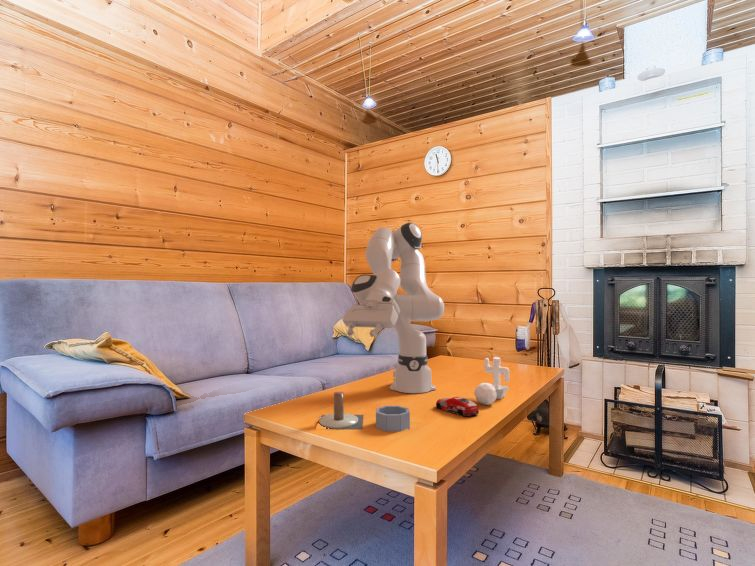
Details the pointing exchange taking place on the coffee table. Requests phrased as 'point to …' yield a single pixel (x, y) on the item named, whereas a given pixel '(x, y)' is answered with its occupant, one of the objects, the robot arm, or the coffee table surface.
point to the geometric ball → (485, 393)
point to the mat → (358, 425)
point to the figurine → (497, 375)
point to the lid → (338, 415)
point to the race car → (458, 406)
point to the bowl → (392, 418)
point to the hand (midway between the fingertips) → (360, 334)
